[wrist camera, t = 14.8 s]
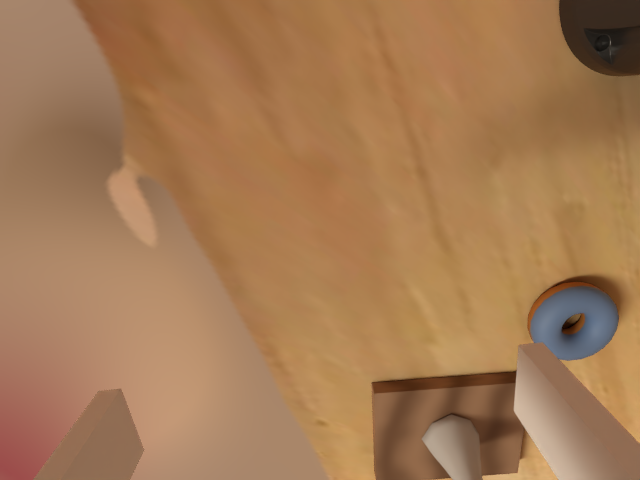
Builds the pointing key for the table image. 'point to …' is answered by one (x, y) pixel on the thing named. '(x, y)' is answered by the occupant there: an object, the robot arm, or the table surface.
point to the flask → (455, 447)
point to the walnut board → (437, 403)
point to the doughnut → (586, 333)
